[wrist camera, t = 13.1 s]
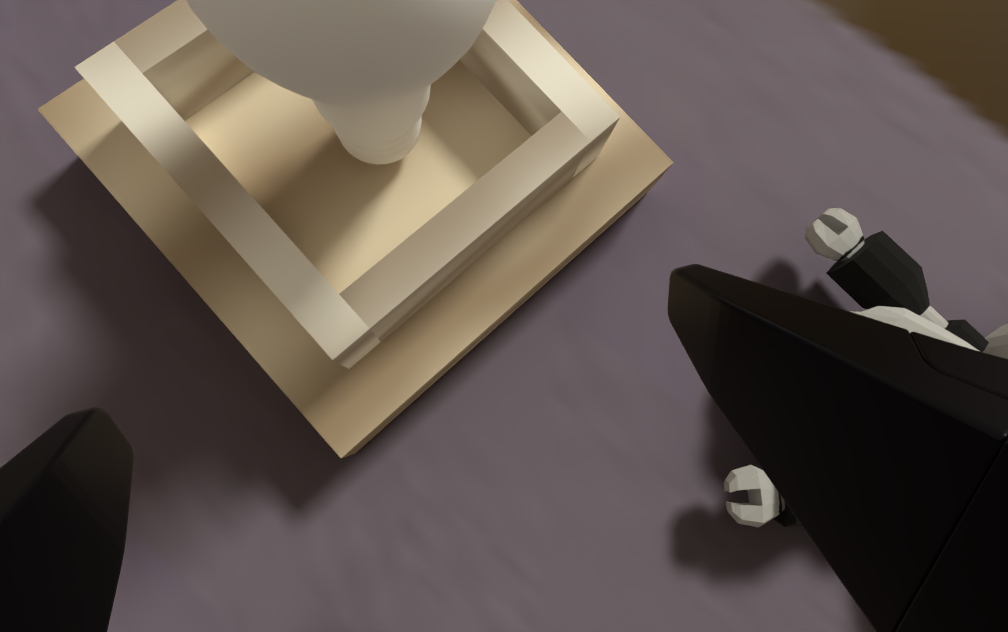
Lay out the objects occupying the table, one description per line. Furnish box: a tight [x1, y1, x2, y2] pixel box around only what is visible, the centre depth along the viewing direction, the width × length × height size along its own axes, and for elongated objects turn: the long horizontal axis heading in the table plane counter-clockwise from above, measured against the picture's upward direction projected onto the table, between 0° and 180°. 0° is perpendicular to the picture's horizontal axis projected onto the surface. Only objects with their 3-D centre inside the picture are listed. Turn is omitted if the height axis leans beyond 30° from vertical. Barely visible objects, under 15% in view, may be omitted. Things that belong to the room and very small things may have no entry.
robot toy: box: [724, 208, 1008, 527], centre depth 19 cm, size 12×4×15 cm
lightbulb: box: [186, 0, 496, 165], centre depth 13 cm, size 6×6×11 cm
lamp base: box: [38, 0, 673, 458], centre depth 18 cm, size 14×14×5 cm
